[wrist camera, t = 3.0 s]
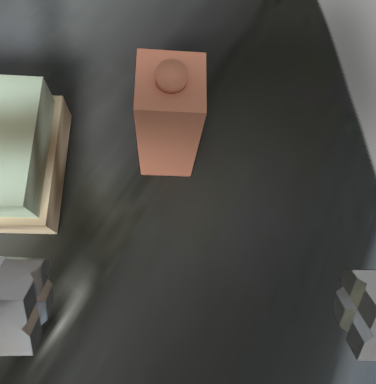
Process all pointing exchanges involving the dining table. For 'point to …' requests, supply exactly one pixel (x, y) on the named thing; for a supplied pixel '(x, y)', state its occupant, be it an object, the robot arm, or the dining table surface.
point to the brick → (169, 109)
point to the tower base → (31, 155)
